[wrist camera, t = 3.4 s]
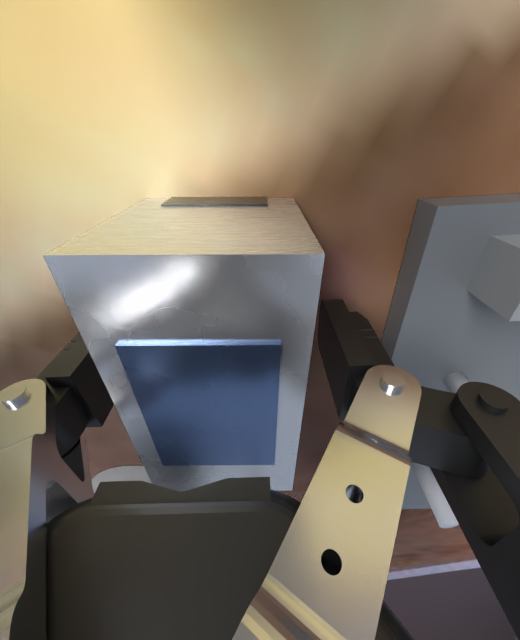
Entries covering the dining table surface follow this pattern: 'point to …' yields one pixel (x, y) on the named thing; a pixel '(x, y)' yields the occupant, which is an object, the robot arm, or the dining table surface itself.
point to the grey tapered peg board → (457, 309)
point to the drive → (200, 330)
